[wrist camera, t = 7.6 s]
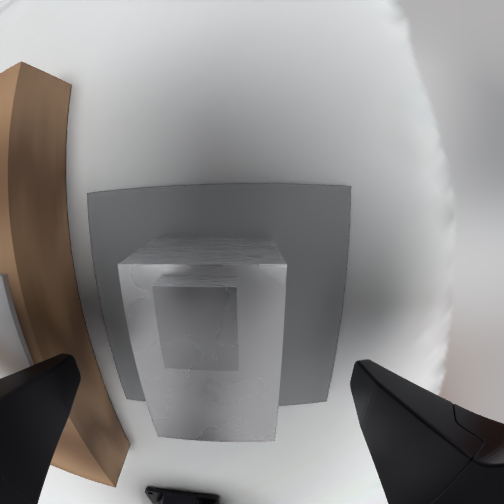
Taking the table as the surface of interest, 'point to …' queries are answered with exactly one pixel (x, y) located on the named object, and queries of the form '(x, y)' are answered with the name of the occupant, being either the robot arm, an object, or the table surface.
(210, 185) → the rubber mat
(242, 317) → the lever cap
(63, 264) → the hand plane
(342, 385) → the table surface
